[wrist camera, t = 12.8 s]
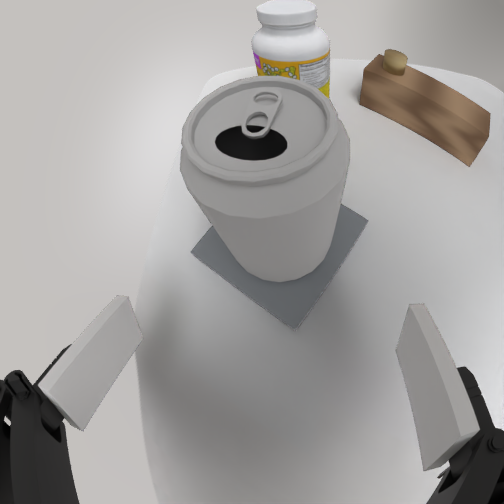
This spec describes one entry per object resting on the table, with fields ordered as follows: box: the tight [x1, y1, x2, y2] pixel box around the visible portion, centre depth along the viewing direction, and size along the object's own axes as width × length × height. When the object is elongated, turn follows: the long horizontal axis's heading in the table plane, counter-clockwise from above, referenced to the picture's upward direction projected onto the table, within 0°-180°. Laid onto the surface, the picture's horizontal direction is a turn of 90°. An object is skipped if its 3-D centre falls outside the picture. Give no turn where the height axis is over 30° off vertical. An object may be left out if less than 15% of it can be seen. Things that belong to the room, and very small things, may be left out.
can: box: [180, 76, 350, 282], centre depth 15 cm, size 8×8×12 cm
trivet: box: [191, 204, 369, 331], centre depth 21 cm, size 10×10×1 cm
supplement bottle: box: [252, 0, 330, 99], centre depth 20 cm, size 7×7×13 cm
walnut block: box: [360, 49, 490, 167], centre depth 20 cm, size 14×5×7 cm, turn 52°
